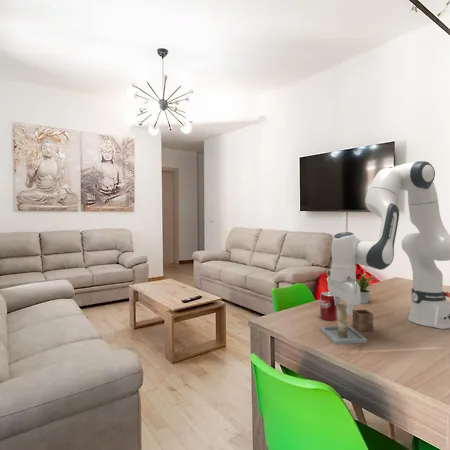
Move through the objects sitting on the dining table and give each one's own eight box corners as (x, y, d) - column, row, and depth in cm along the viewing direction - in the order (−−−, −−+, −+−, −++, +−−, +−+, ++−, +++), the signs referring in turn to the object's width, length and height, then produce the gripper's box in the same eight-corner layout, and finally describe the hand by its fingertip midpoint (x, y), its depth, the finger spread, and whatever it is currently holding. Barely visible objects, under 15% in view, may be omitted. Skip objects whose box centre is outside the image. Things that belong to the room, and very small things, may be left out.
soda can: (326, 323, 140) (326, 296, 139) (317, 318, 147) (317, 292, 146) (340, 321, 142) (340, 295, 141) (330, 316, 149) (331, 291, 148)
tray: (348, 330, 132) (348, 325, 132) (366, 344, 118) (367, 339, 118) (320, 331, 131) (320, 326, 131) (335, 346, 117) (335, 340, 117)
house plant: (384, 306, 163) (384, 275, 162) (356, 306, 163) (357, 275, 162) (372, 299, 177) (372, 269, 176) (346, 299, 178) (347, 270, 177)
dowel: (344, 333, 126) (345, 303, 126) (349, 337, 123) (349, 306, 122) (336, 334, 126) (336, 304, 125) (340, 337, 122) (340, 306, 122)
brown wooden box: (365, 326, 136) (365, 309, 135) (373, 332, 130) (373, 313, 129) (352, 327, 135) (352, 310, 135) (359, 332, 129) (359, 314, 129)
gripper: (365, 280, 113) (365, 318, 114) (339, 269, 133) (339, 302, 134) (348, 280, 113) (348, 319, 113) (324, 269, 133) (324, 302, 134)
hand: (343, 309), depth 124 cm, fingers open, 8 cm apart
